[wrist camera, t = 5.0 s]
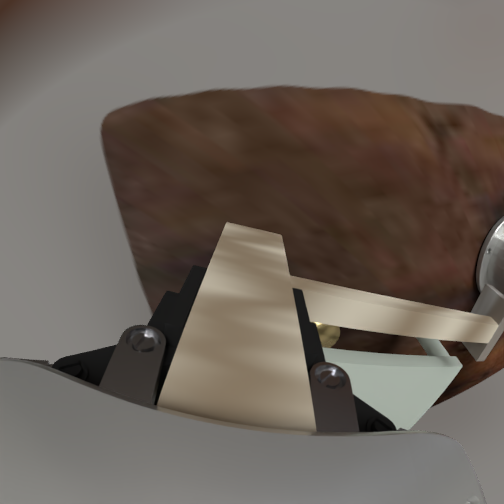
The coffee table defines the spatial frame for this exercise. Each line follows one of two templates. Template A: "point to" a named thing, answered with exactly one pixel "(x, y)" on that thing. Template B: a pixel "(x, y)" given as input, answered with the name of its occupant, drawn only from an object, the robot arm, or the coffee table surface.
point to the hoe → (288, 333)
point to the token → (328, 334)
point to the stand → (398, 379)
